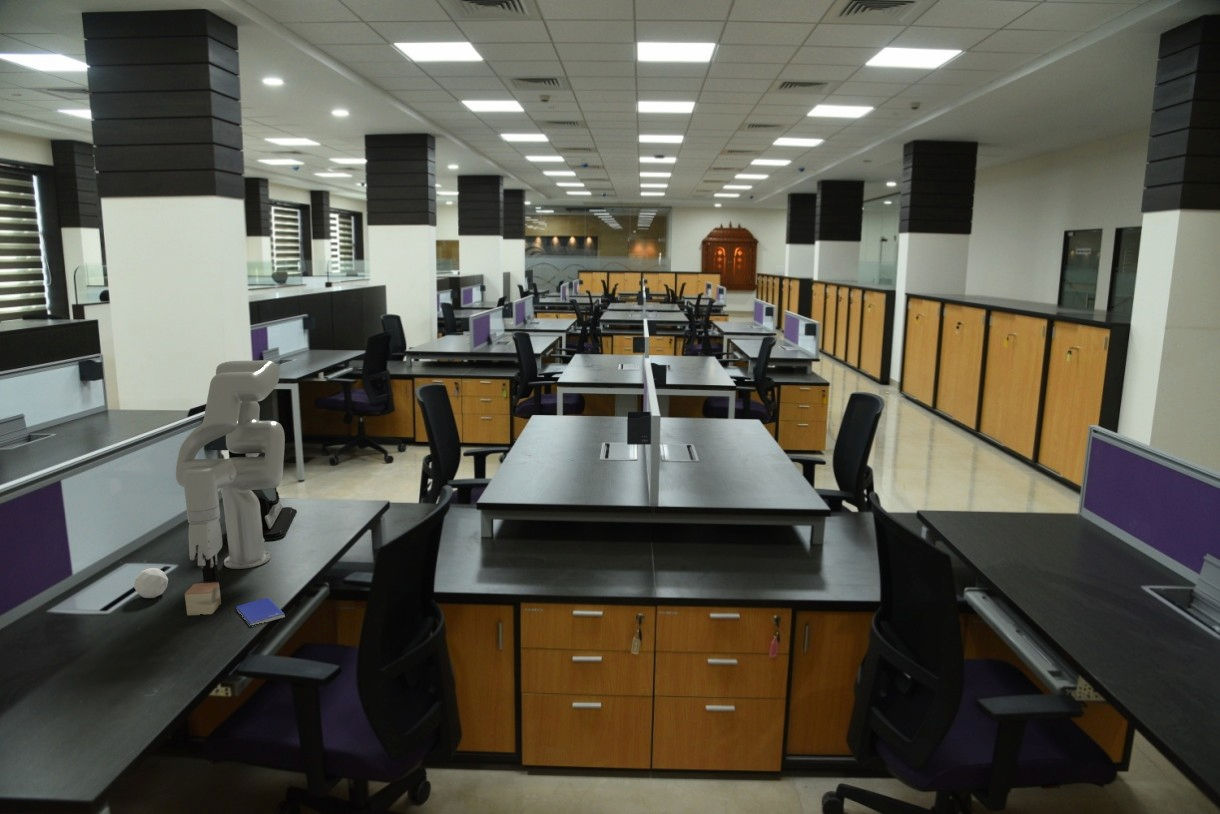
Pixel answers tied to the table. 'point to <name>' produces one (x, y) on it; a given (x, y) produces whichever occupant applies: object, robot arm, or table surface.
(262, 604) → the hard drive
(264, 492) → the award
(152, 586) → the geometric ball
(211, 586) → the maple cube
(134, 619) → the table surface
